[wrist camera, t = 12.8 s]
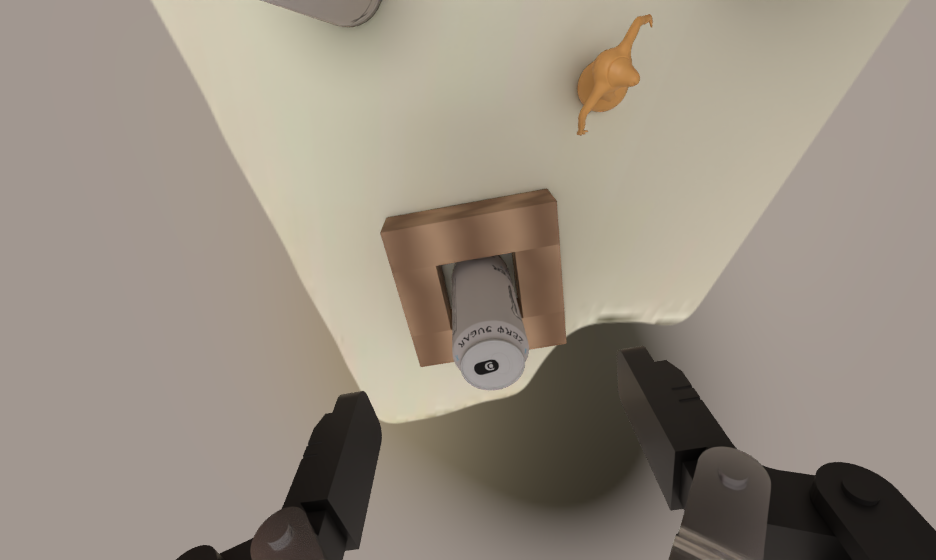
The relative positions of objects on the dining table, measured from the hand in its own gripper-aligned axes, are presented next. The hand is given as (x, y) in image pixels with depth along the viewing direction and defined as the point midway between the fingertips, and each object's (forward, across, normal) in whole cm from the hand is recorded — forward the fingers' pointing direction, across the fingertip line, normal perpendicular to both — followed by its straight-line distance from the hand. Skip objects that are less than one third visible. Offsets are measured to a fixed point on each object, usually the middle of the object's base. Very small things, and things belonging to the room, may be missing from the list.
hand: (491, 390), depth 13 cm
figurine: (+29, -11, -6) cm, 32 cm away
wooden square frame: (+28, +2, +11) cm, 31 cm away
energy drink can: (+29, +1, +11) cm, 31 cm away
